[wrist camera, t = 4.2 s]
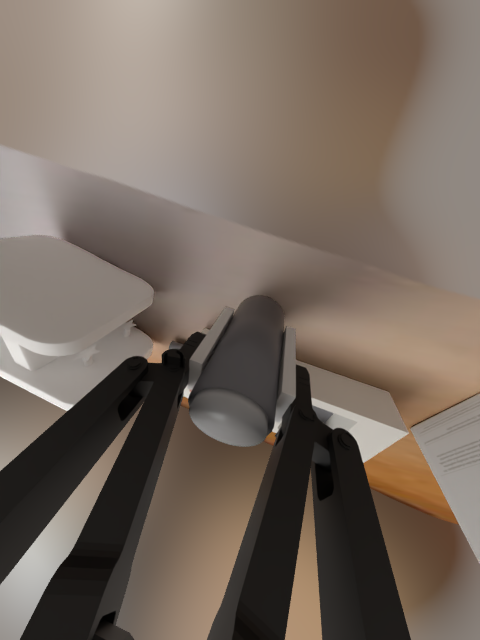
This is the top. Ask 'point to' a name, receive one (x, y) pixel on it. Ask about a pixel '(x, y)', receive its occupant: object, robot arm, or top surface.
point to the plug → (242, 376)
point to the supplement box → (456, 461)
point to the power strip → (349, 408)
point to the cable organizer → (65, 317)
